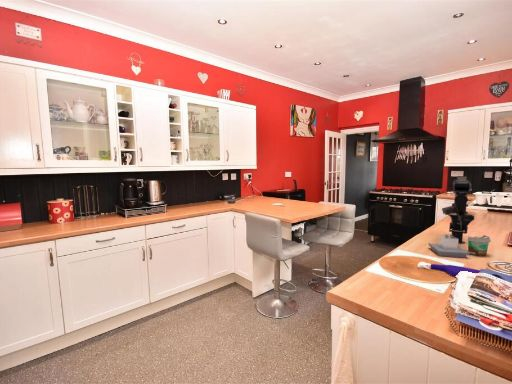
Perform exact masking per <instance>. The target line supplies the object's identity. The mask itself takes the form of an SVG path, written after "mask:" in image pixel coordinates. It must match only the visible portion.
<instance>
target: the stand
mask: <svg viewBox="0 0 512 384" xmlns="http://www.w3.org/2000/svg"><path fill="white" fill-rule="evenodd" d="M428 246H429V247H430V250H432V251H433V252H434V253H435V254H437V255H438V256H439V257H451V258H461V259H462V258H463V259H464V258H465V259H466V258H467V256H471V255H470V253H469V252H468V250H465V249H463V248H461V247H460V246H458V250H452V249H442V248H441V247H439V243H430V242H428Z"/></svg>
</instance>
